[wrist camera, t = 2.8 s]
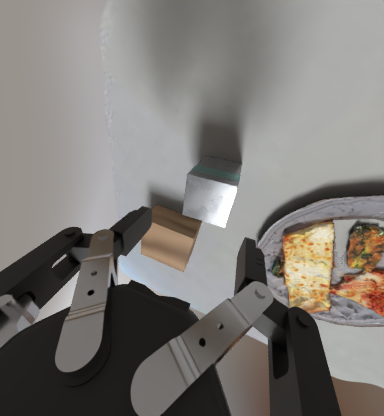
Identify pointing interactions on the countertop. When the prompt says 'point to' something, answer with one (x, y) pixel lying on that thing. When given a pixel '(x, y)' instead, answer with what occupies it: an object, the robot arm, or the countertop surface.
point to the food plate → (329, 262)
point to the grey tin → (211, 190)
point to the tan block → (170, 237)
